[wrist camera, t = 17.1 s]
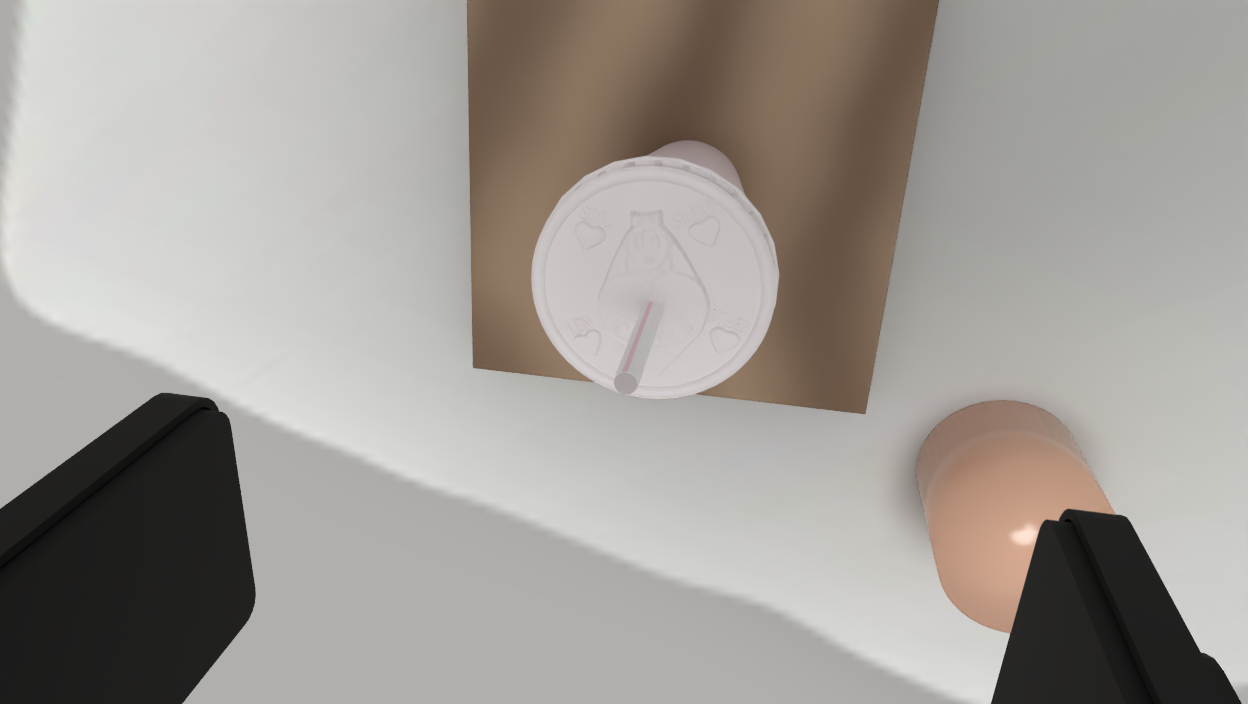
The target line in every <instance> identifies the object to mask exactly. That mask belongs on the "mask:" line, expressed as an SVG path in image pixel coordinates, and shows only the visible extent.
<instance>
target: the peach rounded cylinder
mask: <svg viewBox="0 0 1248 704" xmlns="http://www.w3.org/2000/svg"><path fill="white" fill-rule="evenodd" d="M916 477H917V482H918V487H919V492H920V496H921V500H922V505H923V509H924V514H925V518H926V522H927V527H928V531H929V536H930V540H931V544H932V549H933V553H934V558H935V562H936V566H937V571H938V575H939V579H940V582H941V585H942V588H943V589H944V591H945V593H946V595H947V597H948V598H949V599H950V601H951V602H952V603H953V604H954V605H955V606H956V607H957V608H958V609H959V610H960V611H961V612H962V613H963V614H965V615H966V616H967V617H969V618H970V619H972V620H974V621H975V622H977V623H979V624H981V625H984V626H986V627H988V628H991V629H994V630H998V631H1001V632H1006V633H1011V630H1012V626H1013V623H1014V619H1015V615H1016V612H1017V608H1018V604H1019V601H1020V597H1021V594H1022V590H1023V586H1024V583H1025V579H1026V576H1027V572H1028V568H1029V565H1030V561H1031V557H1032V554H1033V550H1034V547H1035V543H1036V539H1037V536H1038V532H1039V529H1040V527H1041V525H1042V523H1043V521H1045V520H1046V519H1048V520H1056V521H1059V518H1060V516H1061V515H1062V513H1063V512H1064V511H1065V510H1066V509H1076V510H1084V511H1092V512H1100V513H1107V514H1115V512H1114V510H1113V509H1112V507H1111V505H1110V503H1109V501H1108V500H1107V498H1106V496H1105V494H1104V492H1103V491H1102V489H1101V487H1100V485H1099V483H1098V482H1097V480H1096V478H1095V476H1094V474H1093V473H1092V471H1091V469H1090V467H1089V465H1088V463H1087V462H1086V460H1085V458H1084V456H1083V454H1082V453H1081V451H1080V449H1079V447H1078V445H1077V444H1076V442H1075V440H1074V438H1073V436H1072V435H1071V433H1070V432H1069V430H1068V429H1067V428H1066V427H1065V426H1064V425H1063V423H1062V422H1061V421H1059V420H1058V419H1057V418H1056V417H1054V416H1053V415H1052V414H1050V413H1048V412H1047V411H1045V410H1043V409H1041V408H1038V407H1036V406H1034V405H1030V404H1027V403H1023V402H1017V401H1006V400H999V401H988V402H982V403H978V404H974V405H971V406H968V407H966V408H963V409H961V410H959V411H957V412H955V413H953V414H951V415H950V416H949V417H947V418H946V419H944V420H943V421H942V422H941V423H940V424H938V425H937V426H936V427H935V428H934V429H933V431H932V432H931V433H930V434H929V435H928V437H927V439H926V440H925V442H924V443H923V445H922V448H921V450H920V453H919V456H918V459H917V467H916ZM1115 515H1116V514H1115Z"/></svg>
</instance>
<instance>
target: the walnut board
mask: <svg viewBox="0 0 1248 704" xmlns="http://www.w3.org/2000/svg"><path fill="white" fill-rule="evenodd" d="M938 3H939V0H467V30H468V91H469V152H470V214H471V275H472V336H473V368H479V369H487V370H496V371H504V372H513V373H521V374H529V375H538V376H546V377H555V378H563V379H572V380H580V381H589V382H594V381H592V380H591V379H589V378H588V377H586V376H584V375H583V374H582V373H580V372H579V371H578V370H577V369H575V368H574V367H573V366H572V365H571V364H570V363H569V362H568V361H567V360H566V359H565V358H564V357H563V356H562V355H561V354H560V353H559V351H558V350H557V349H556V348H555V346H554V345H553V344H552V342H551V340H550V339H549V337H548V336H547V334H546V332H545V330H544V328H543V326H542V324H541V322H540V319H539V317H538V314H537V311H536V307H535V304H534V299H533V293H532V282H531V275H532V262H533V256H534V252H535V247H536V245H537V242H538V239H539V236H540V234H541V232H542V230H543V227H544V226H545V223H546V221H547V219H548V218H549V216H550V215H551V213H552V211H553V210H554V208H555V207H556V205H557V203H558V202H559V200H560V199H561V197H562V196H563V195H564V194H565V193H566V192H568V191H569V190H570V189H571V188H572V187H573V186H574V185H575V184H576V183H578V182H579V181H580V180H581V179H582V178H583V177H584V176H586V175H588V174H590V173H592V172H594V171H596V170H598V169H600V168H602V167H604V166H606V165H608V164H610V163H612V162H615V161H620V160H626V159H631V158H636V157H642V156H647V155H649V154H651V153H652V152H654V151H656V150H658V149H660V148H661V147H663V146H665V145H667V144H670V143H673V142H677V141H685V140H691V141H699V142H703V143H706V144H708V145H711V146H713V147H715V148H716V149H718V150H719V151H721V152H722V153H723V154H724V155H725V156H726V157H727V158H728V159H729V160H730V161H731V162H732V164H733V165H734V167H735V169H736V171H737V173H738V175H739V178H740V181H741V184H742V187H743V190H744V193H745V196H746V197H747V198H748V200H749V201H750V202H751V203H752V204H753V205H754V207H755V208H756V209H757V210H758V211H759V212H760V214H761V216H762V218H763V220H764V222H765V224H766V226H767V229H768V231H769V233H770V235H771V237H772V239H773V241H774V244H775V250H776V256H777V263H778V269H779V282H778V290H777V299H776V305H775V308H774V311H773V315H772V319H771V322H770V325H769V328H768V330H767V332H766V334H765V336H764V339H763V341H762V342H761V344H760V345H759V347H758V349H757V350H756V351H755V353H754V354H753V355H752V357H751V358H750V359H749V360H748V361H747V362H746V363H745V364H744V365H743V366H742V367H741V368H740V369H739V370H738V371H737V372H736V373H734V374H733V375H732V376H730V377H729V378H727V379H726V380H725V381H723V382H721V383H719V384H718V385H716V386H714V387H712V388H709V389H707V390H705V391H702V392H699V393H696V394H699V395H707V396H716V397H724V398H733V399H741V400H750V401H758V402H767V403H775V404H784V405H792V406H800V407H809V408H817V409H826V410H834V411H843V412H851V413H860V414H865V413H866V407H867V402H868V396H869V390H870V385H871V379H872V374H873V368H874V362H875V357H876V351H877V345H878V340H879V334H880V329H881V323H882V317H883V312H884V306H885V301H886V295H887V289H888V284H889V278H890V272H891V267H892V261H893V256H894V250H895V244H896V239H897V233H898V227H899V222H900V216H901V211H902V205H903V199H904V194H905V188H906V182H907V177H908V171H909V166H910V160H911V154H912V149H913V143H914V137H915V132H916V126H917V121H918V115H919V109H920V104H921V98H922V92H923V87H924V81H925V76H926V70H927V64H928V59H929V53H930V48H931V42H932V36H933V31H934V25H935V19H936V14H937V8H938Z"/></svg>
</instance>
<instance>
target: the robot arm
mask: <svg viewBox="0 0 1248 704" xmlns="http://www.w3.org/2000/svg"><path fill="white" fill-rule="evenodd" d="M255 594H256V593H255V583H254V577H253V570H252V564H251V557H250V550H249V544H248V538H247V531H246V524H245V518H244V511H243V504H242V497H241V490H240V484H239V477H238V470H237V464H236V457H235V451H234V444H233V437H232V431H231V425H230V421H229V418H228V417H227V415H226V414H225V413H223V412H219V410H218V407H217V406H216V404H215V402H214V401H212V400H211V399H209V398H203V397H195V396H187V395H179V394H172V393H160V394H158V395H156V396H154V397H153V398H151V399H150V400H149V401H147V402H146V403H145V404H143V405H142V406H140V407H139V408H138V409H136V410H135V411H133V412H132V413H131V414H130V415H128V416H127V417H125V418H124V419H123V420H121V421H120V422H118V423H117V424H116V425H114V426H113V427H112V428H110V429H109V430H107V431H106V432H105V433H103V434H102V435H101V436H99V437H98V438H97V439H95V440H94V441H93V442H91V443H90V444H88V445H87V446H86V447H84V448H83V449H82V450H80V451H79V452H77V453H76V454H75V455H74V456H72V457H71V458H69V459H68V460H66V461H65V462H64V463H62V464H61V465H60V466H58V467H57V468H56V469H54V470H53V471H51V472H50V473H49V474H47V475H46V476H45V477H43V478H42V479H41V480H39V481H38V482H36V483H35V484H34V485H32V486H31V487H30V488H28V489H27V490H25V491H24V492H23V493H22V494H20V495H19V496H17V497H16V498H15V499H13V500H12V501H10V502H9V503H8V504H6V505H5V506H4V507H2V508H1V509H0V704H182V703H183V702H184V701H185V699H186V698H187V697H188V696H189V694H190V693H191V692H192V691H193V689H194V688H195V687H196V685H197V684H198V683H199V682H200V680H201V679H202V678H203V677H204V675H205V674H206V673H207V672H208V670H209V669H210V668H211V667H212V665H213V664H214V663H215V662H216V660H217V659H218V658H219V657H220V655H221V654H222V653H223V652H224V650H225V649H226V648H227V647H228V645H229V644H230V643H231V641H232V640H233V639H234V638H235V637H236V635H237V634H238V633H239V631H240V630H241V629H242V628H243V626H244V625H245V624H246V622H247V621H248V619H249V618H250V615H251V613H252V611H253V607H254V604H255V596H256V595H255ZM991 704H1242V703H1241V701H1240V700H1239V698H1238V696H1237V694H1236V692H1235V691H1234V689H1233V687H1232V685H1231V683H1230V682H1229V680H1228V678H1227V676H1226V674H1225V673H1224V671H1223V670H1222V668H1221V667H1220V666H1219V664H1218V663H1217V662H1216V660H1215V659H1214V658H1212V657H1210V656H1209V655H1207V654H1205V653H1201V652H1200V650H1199V648H1198V647H1197V645H1196V643H1195V641H1194V639H1193V637H1192V635H1191V634H1190V632H1189V630H1188V628H1187V626H1186V624H1185V622H1184V621H1183V619H1182V617H1181V615H1180V613H1179V611H1178V609H1177V608H1176V606H1175V604H1174V602H1173V600H1172V598H1171V596H1170V595H1169V593H1168V591H1167V589H1166V587H1165V585H1164V584H1163V582H1162V580H1161V578H1160V576H1159V574H1158V572H1157V571H1156V569H1155V567H1154V565H1153V563H1152V561H1151V559H1150V558H1149V556H1148V554H1147V552H1146V550H1145V548H1144V546H1143V545H1142V543H1141V541H1140V539H1139V537H1138V535H1137V533H1136V532H1135V530H1134V528H1133V526H1132V524H1131V522H1130V521H1129V520H1128V519H1127V517H1125V516H1122V515H1115V514H1107V513H1100V512H1092V511H1084V510H1076V509H1066V510H1065V511H1064V512H1063V513H1062V515H1061V516H1060V518H1059V521H1056V520H1048V519H1046V520H1045V521H1043V523H1042V525H1041V527H1040V529H1039V532H1038V536H1037V539H1036V543H1035V547H1034V550H1033V554H1032V557H1031V561H1030V565H1029V568H1028V572H1027V576H1026V579H1025V583H1024V586H1023V590H1022V594H1021V597H1020V601H1019V604H1018V608H1017V612H1016V615H1015V619H1014V623H1013V626H1012V630H1011V633H1010V637H1009V641H1008V644H1007V648H1006V651H1005V655H1004V659H1003V662H1002V666H1001V670H1000V673H999V677H998V680H997V684H996V688H995V691H994V695H993V699H992V702H991Z"/></svg>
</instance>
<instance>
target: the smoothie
mask: <svg viewBox="0 0 1248 704" xmlns="http://www.w3.org/2000/svg"><path fill="white" fill-rule="evenodd" d="M531 282H532V293H533V299H534V304H535V307H536V311H537V314H538V317H539V319H540V322H541V324H542V326H543V328H544V330H545V332H546V334H547V336H548V337H549V339H550V340H551V342H552V344H553V345H554V346H555V348H556V349H557V350H558V351H559V353H560V354H561V355H562V356H563V357H564V358H565V359H566V360H567V361H568V362H569V363H570V364H571V365H572V366H573V367H574V368H575V369H577V370H578V371H579V372H580V373H582V374H583V375H584V376H586V377H588V378H589V379H591V380H592V381H594V382H596V383H598V384H600V385H602V386H604V387H606V388H608V389H611V390H613V391H616V392H619V393H621V394H623V395H630V396H634V397H640V398H648V399H671V398H678V397H684V396H689V395H693V394H696V393H699V392H702V391H705V390H707V389H709V388H712V387H714V386H716V385H718V384H719V383H721V382H723V381H725V380H726V379H727V378H729V377H730V376H732V375H733V374H734V373H736V372H737V371H738V370H739V369H740V368H741V367H742V366H743V365H744V364H745V363H746V362H747V361H748V360H749V359H750V358H751V357H752V355H753V354H754V353H755V351H756V350H757V349H758V347H759V345H760V344H761V342H762V341H763V339H764V336H765V334H766V332H767V330H768V328H769V325H770V322H771V319H772V315H773V311H774V308H775V305H776V299H777V290H778V282H779V269H778V263H777V256H776V250H775V244H774V241H773V239H772V237H771V235H770V233H769V231H768V229H767V226H766V224H765V222H764V220H763V218H762V216H761V214H760V212H759V211H758V210H757V209H756V208H755V207H754V205H753V204H752V203H751V202H750V201H749V200H748V198H747V197H746V196H745V193H744V190H743V187H742V184H741V181H740V178H739V175H738V173H737V171H736V169H735V167H734V165H733V164H732V162H731V161H730V160H729V159H728V158H727V157H726V156H725V155H724V154H723V153H722V152H721V151H719V150H718V149H716V148H715V147H713V146H711V145H708V144H706V143H703V142H699V141H691V140H685V141H677V142H673V143H670V144H667V145H665V146H663V147H661V148H660V149H658V150H656V151H654V152H652V153H651V154H649V155H647V156H642V157H636V158H631V159H626V160H620V161H615V162H612V163H610V164H608V165H606V166H604V167H602V168H600V169H598V170H596V171H594V172H592V173H590V174H588V175H586V176H584V177H583V178H582V179H581V180H580V181H579V182H578V183H576V184H575V185H574V186H573V187H572V188H571V189H570V190H569V191H568V192H566V193H565V194H564V195H563V196H562V197H561V199H560V200H559V202H558V203H557V205H556V207H555V208H554V210H553V211H552V213H551V215H550V216H549V218H548V219H547V221H546V223H545V226H544V227H543V230H542V232H541V234H540V236H539V239H538V242H537V245H536V247H535V252H534V256H533V262H532V275H531Z"/></svg>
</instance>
